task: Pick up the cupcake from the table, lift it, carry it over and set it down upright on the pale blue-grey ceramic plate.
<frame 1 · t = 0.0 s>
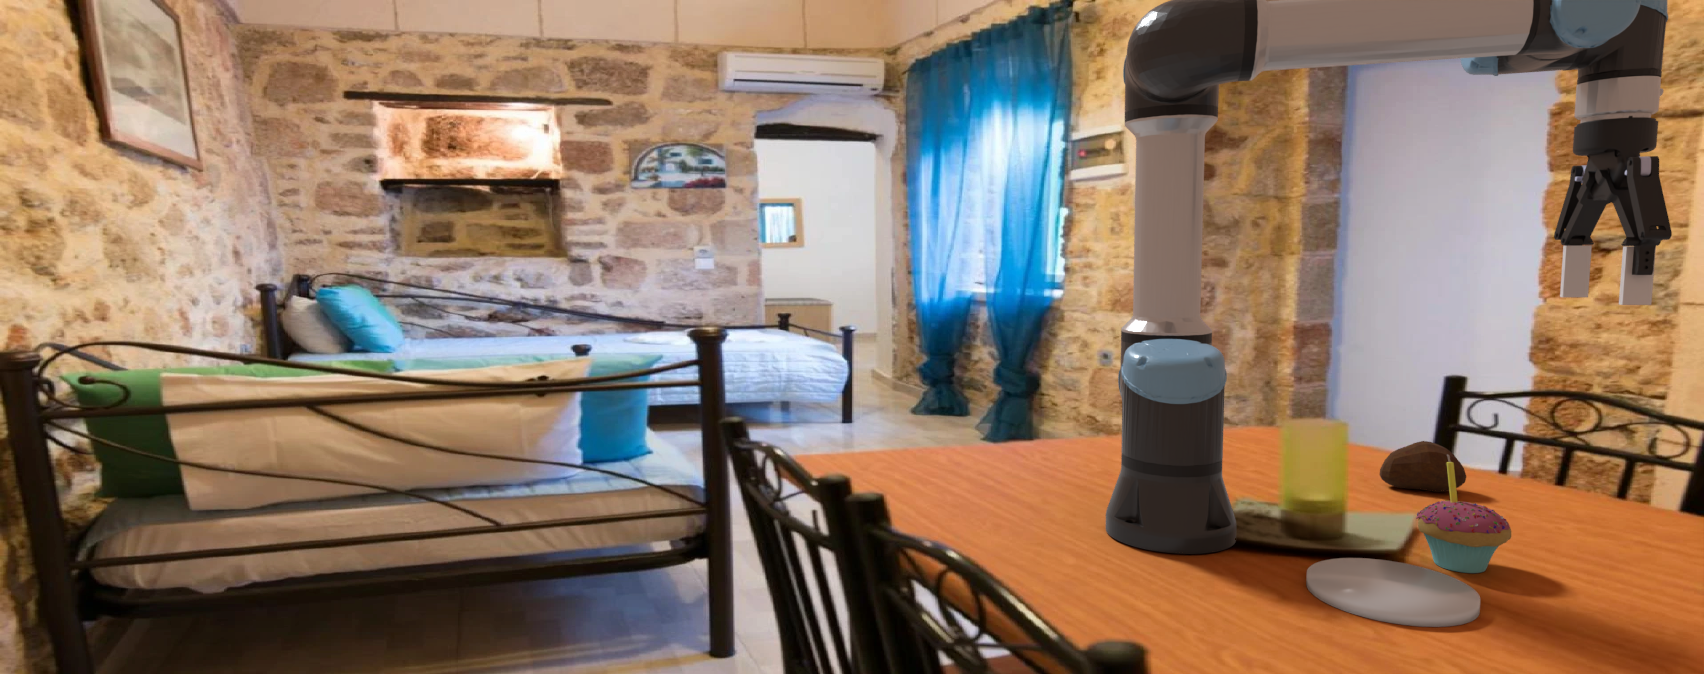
hand: (1602, 301, 107), 28 cm above the table, fingers open, 13 cm apart
cupcake: (1460, 567, 99), on the table
potato: (1420, 490, 129), on the table
plate: (1389, 595, 91), on the table
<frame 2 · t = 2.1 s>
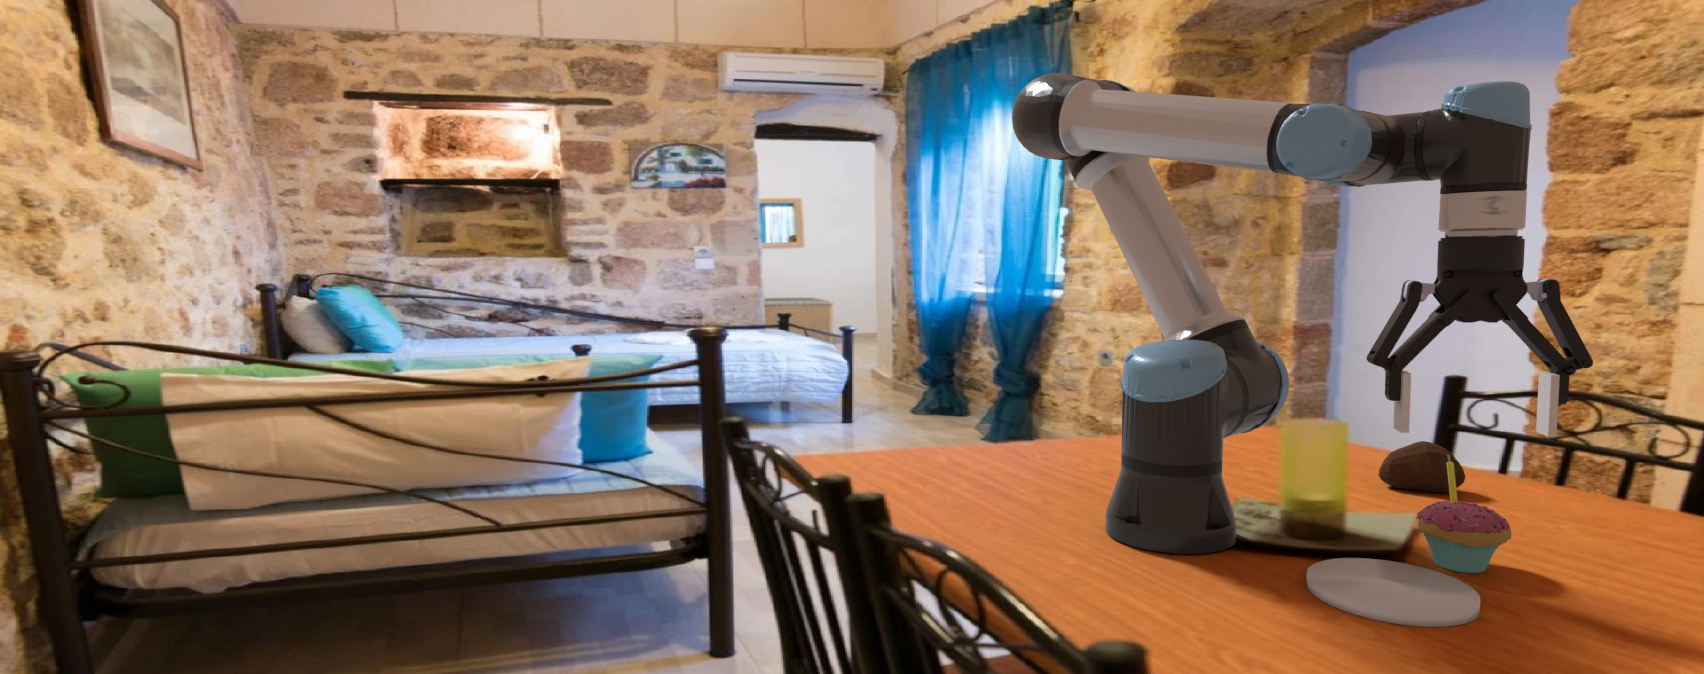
hand: (1472, 432, 97), 15 cm above the table, fingers open, 13 cm apart
nothing on the table moved.
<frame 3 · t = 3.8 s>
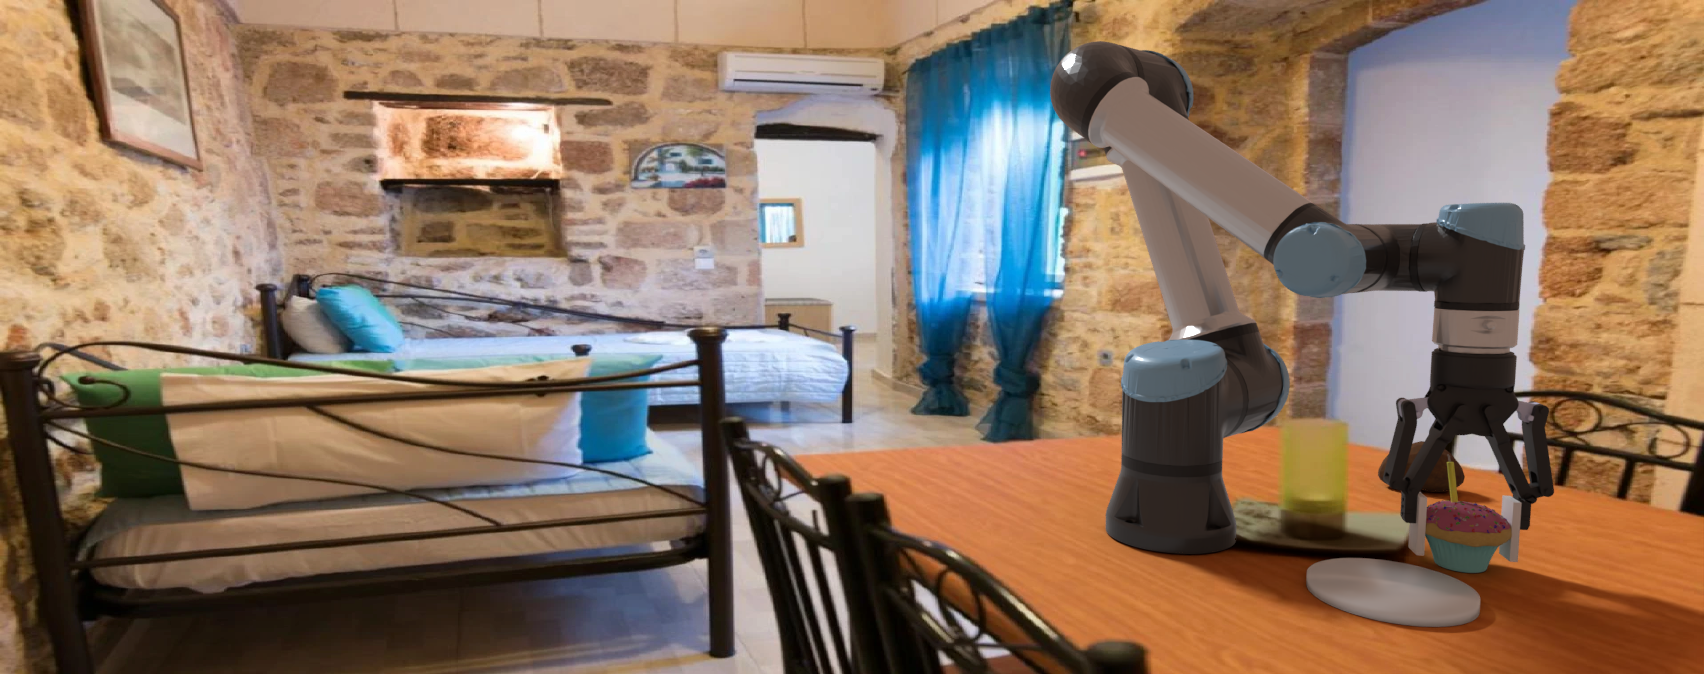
hand: (1461, 554, 98), 1 cm above the table, fingers closed on cupcake, 8 cm apart
cupcake: (1461, 567, 99), on the table, touching gripper
everything else where it was.
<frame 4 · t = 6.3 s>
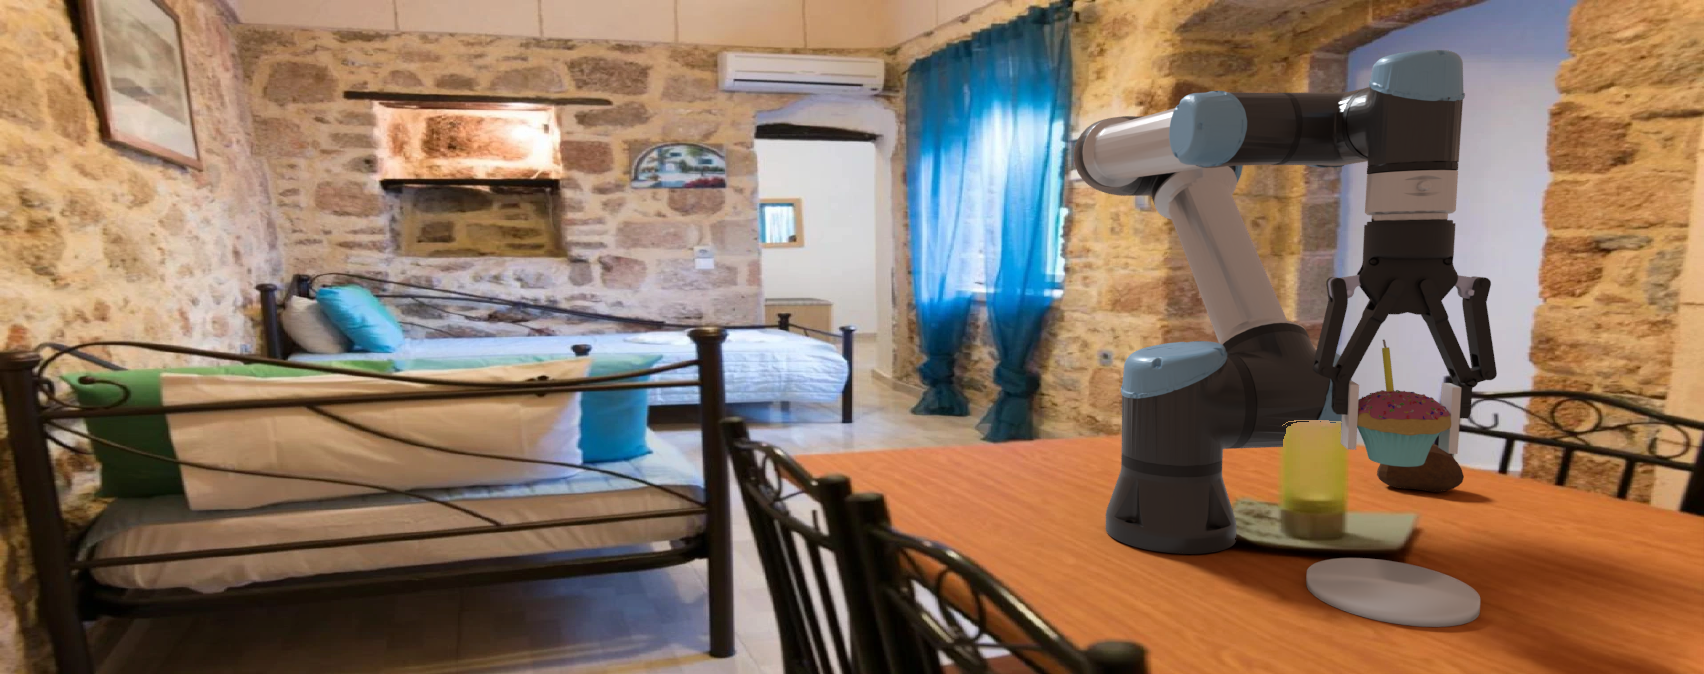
hand: (1397, 448, 89), 15 cm above the table, fingers closed on cupcake, 8 cm apart
cupcake: (1397, 463, 89), point 14 cm above the table, touching gripper
everything else where it was.
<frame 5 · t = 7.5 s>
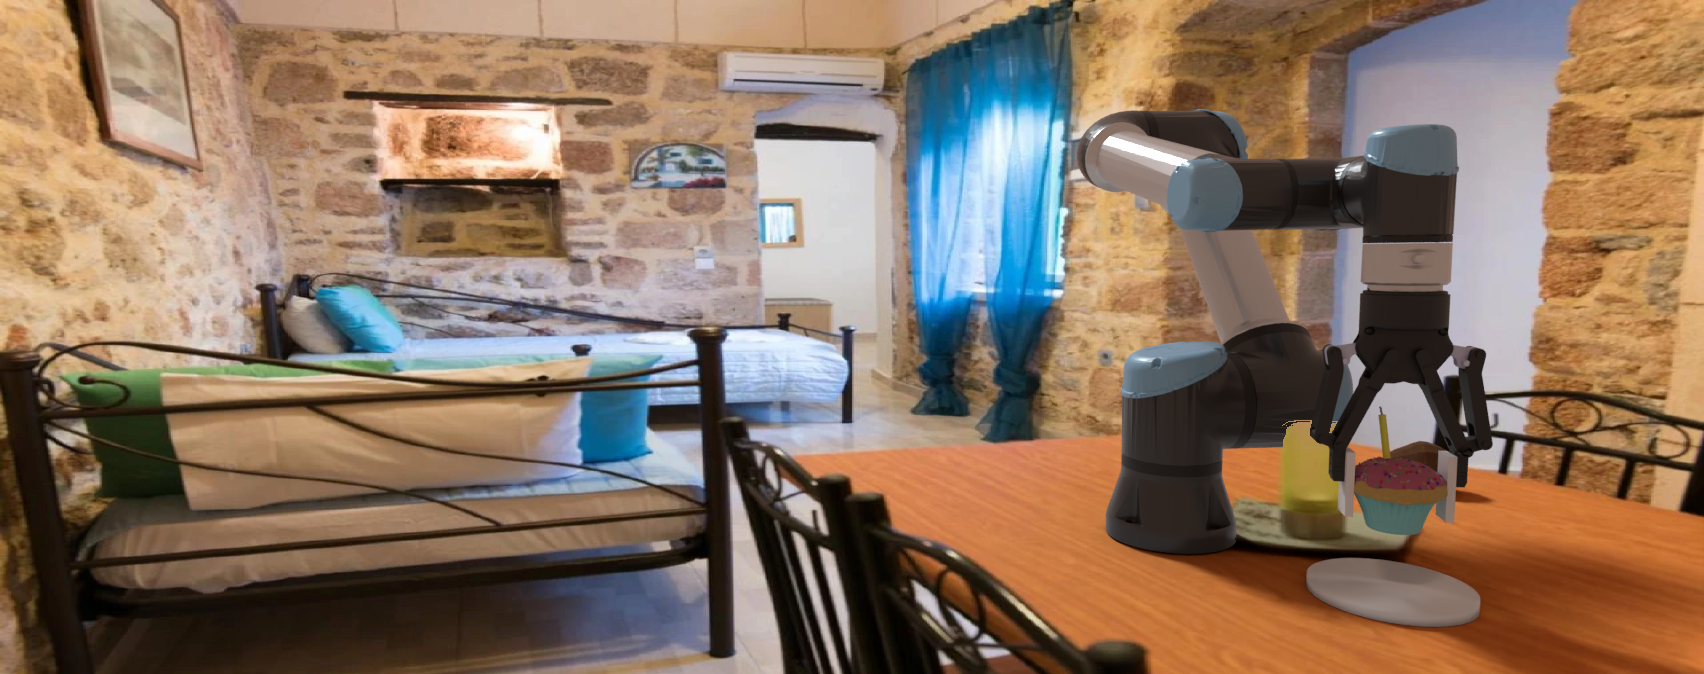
hand: (1394, 515, 90), 8 cm above the table, fingers closed on cupcake, 8 cm apart
cupcake: (1394, 529, 90), point 7 cm above the table, touching gripper
everything else where it was.
when the fingers open (4 cm above the table, at t = 8.8 s): cupcake drops 1 cm, resting on plate.
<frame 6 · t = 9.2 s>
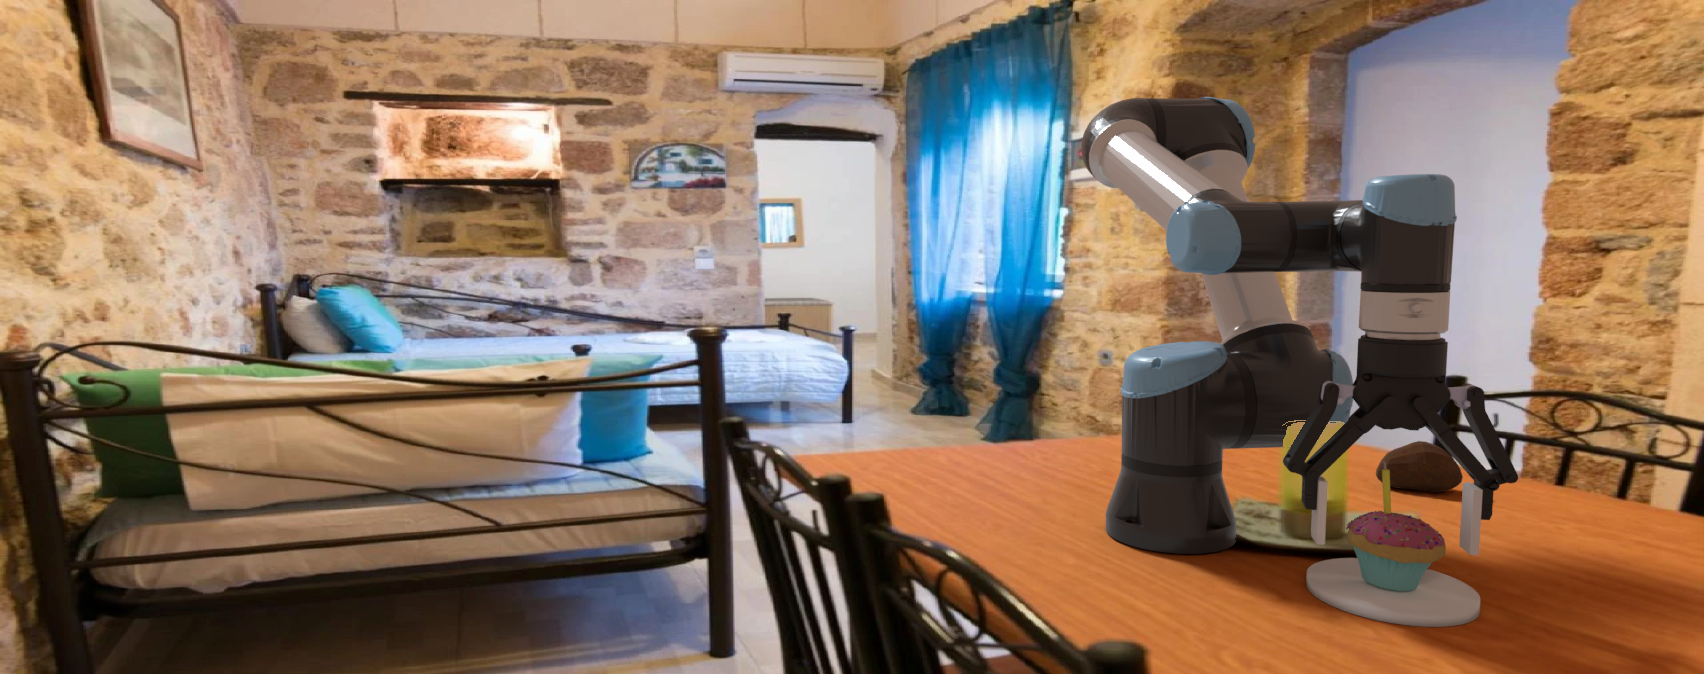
hand: (1391, 545, 90), 5 cm above the table, fingers open, 13 cm apart
cupcake: (1390, 584, 91), point 1 cm above the table, touching plate
everything else where it was.
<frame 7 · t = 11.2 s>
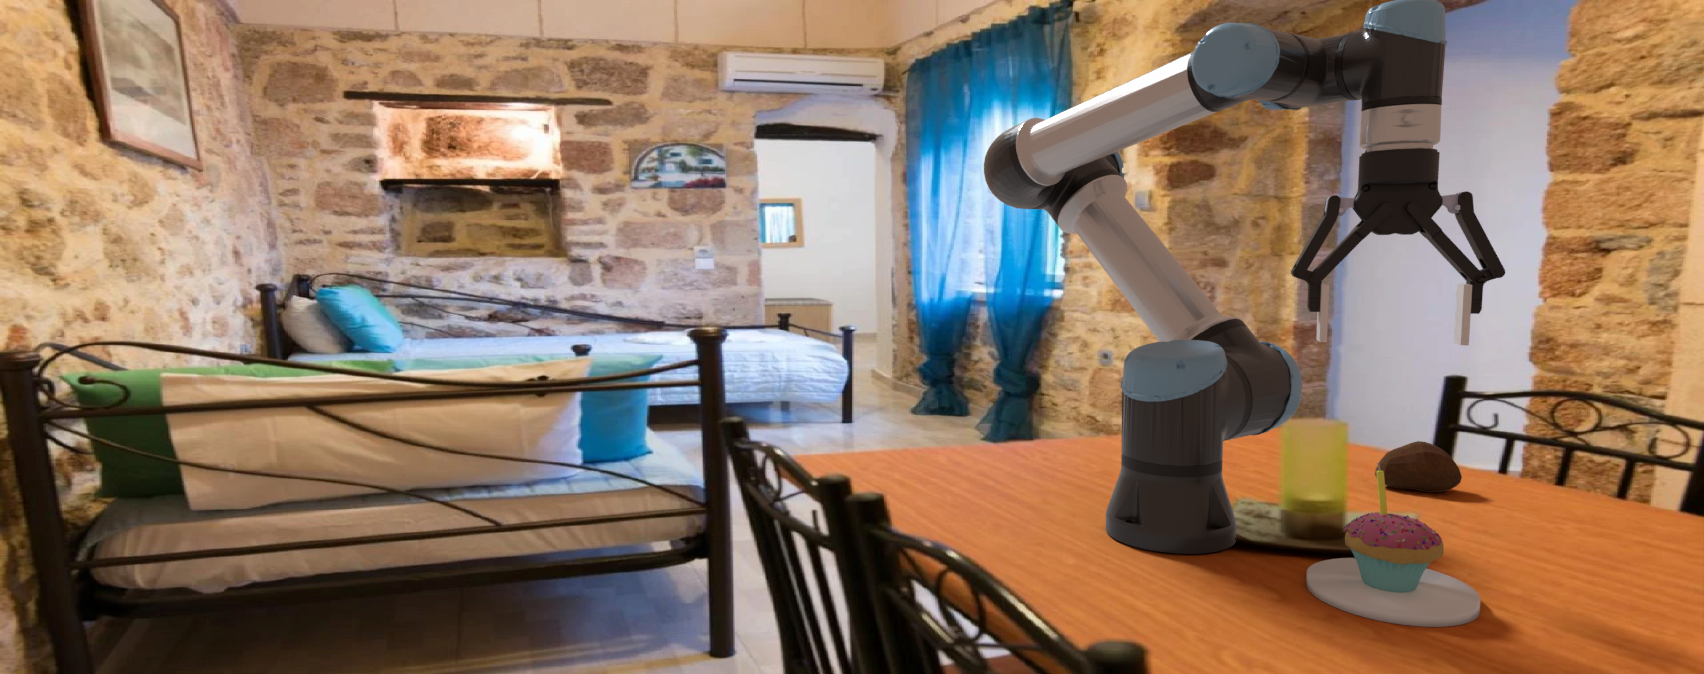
hand: (1389, 342, 100), 24 cm above the table, fingers open, 13 cm apart
nothing on the table moved.
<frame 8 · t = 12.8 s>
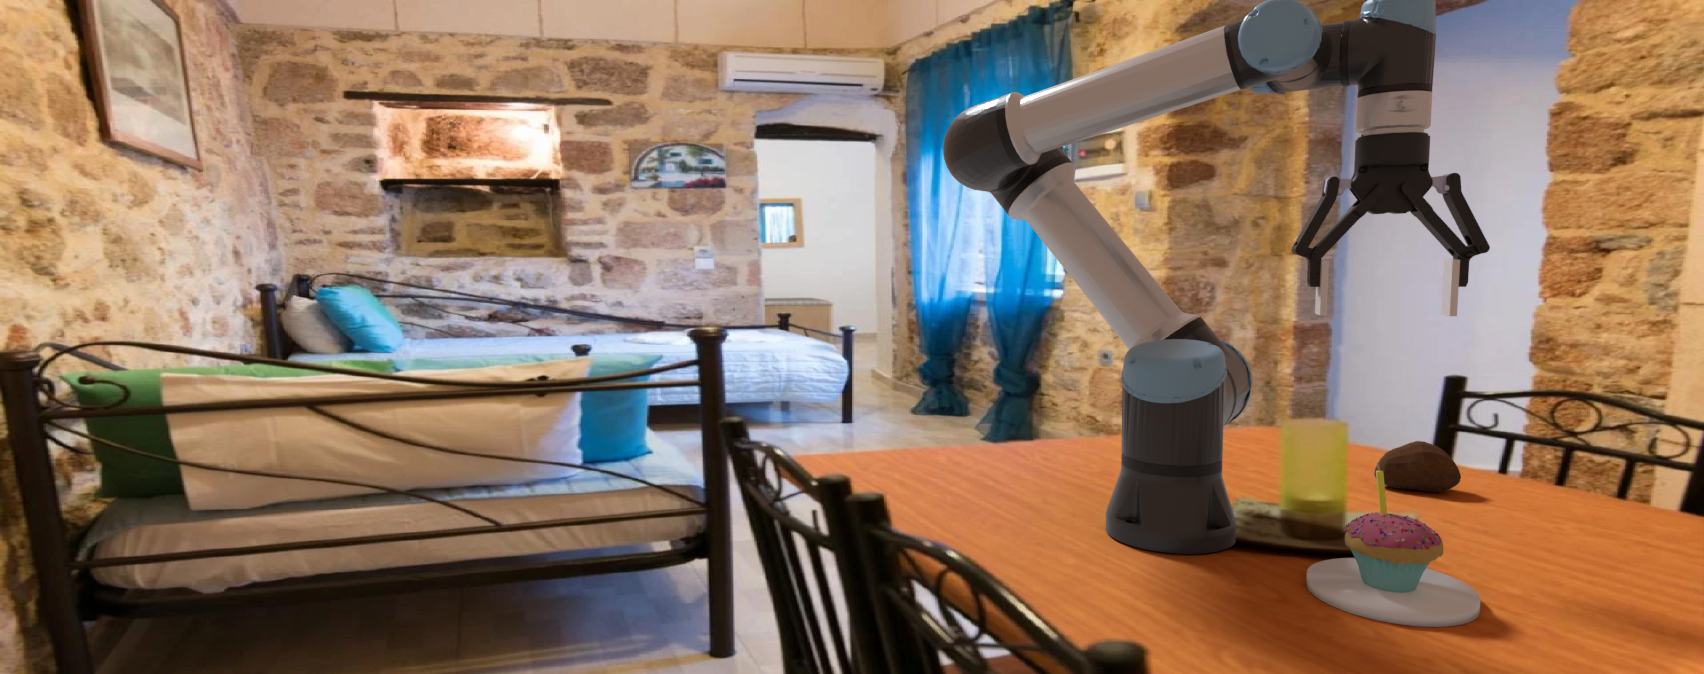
hand: (1383, 315, 107), 27 cm above the table, fingers open, 13 cm apart
nothing on the table moved.
at the end: cupcake 0.0 cm from the plate (horizontally); cupcake touching plate; cupcake tilted 0° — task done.
